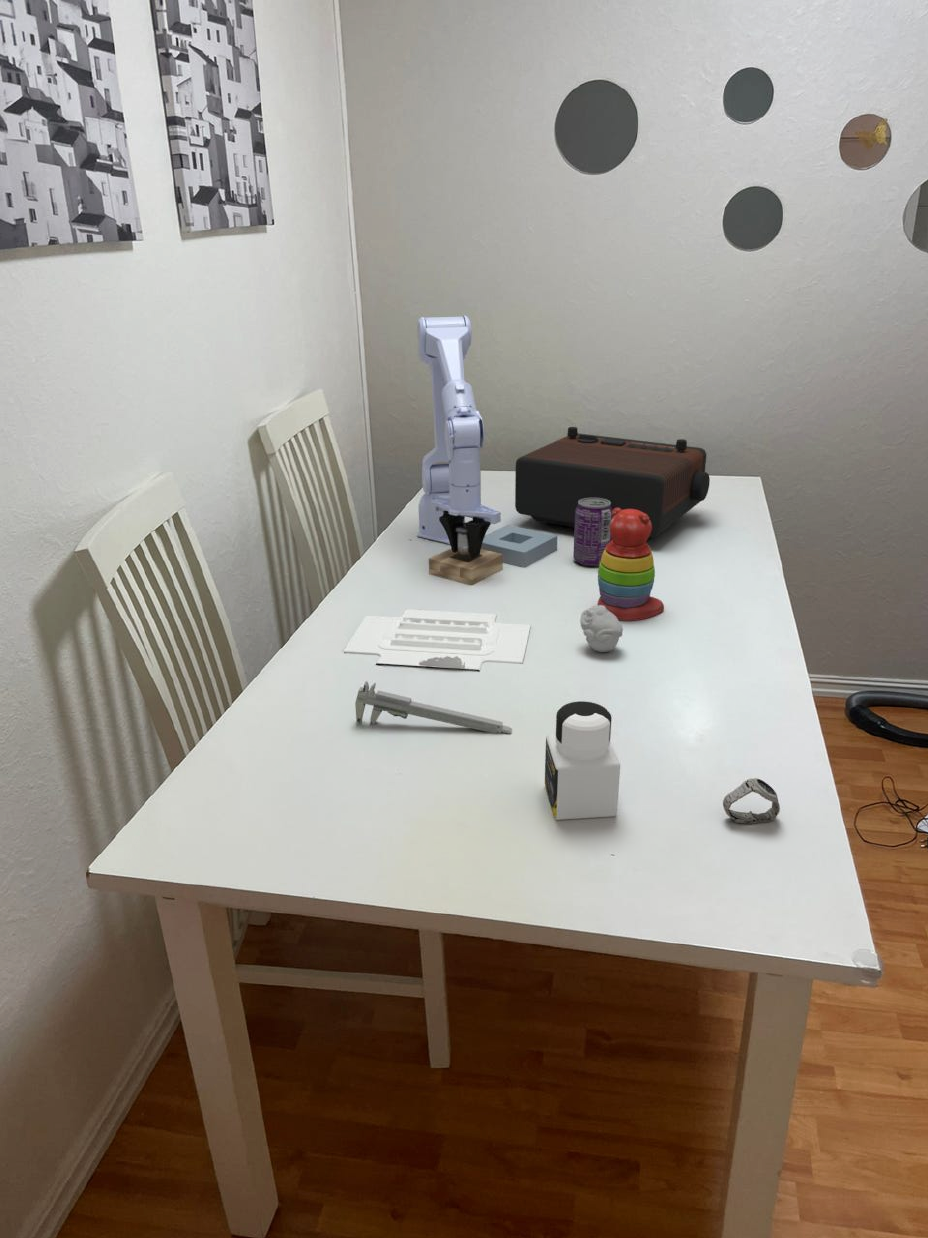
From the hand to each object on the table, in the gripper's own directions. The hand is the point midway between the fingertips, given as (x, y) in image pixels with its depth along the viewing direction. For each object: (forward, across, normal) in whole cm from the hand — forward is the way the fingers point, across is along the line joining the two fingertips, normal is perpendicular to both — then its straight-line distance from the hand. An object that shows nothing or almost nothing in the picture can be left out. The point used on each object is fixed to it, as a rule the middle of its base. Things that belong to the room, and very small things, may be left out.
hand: (465, 553), depth 169 cm
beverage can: (+4, +17, +18) cm, 25 cm away
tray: (+4, +14, -26) cm, 30 cm away
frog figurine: (+4, +37, -15) cm, 40 cm away
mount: (+4, 0, 0) cm, 4 cm away
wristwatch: (+4, +71, -43) cm, 83 cm away
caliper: (+4, +30, -48) cm, 57 cm away
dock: (+4, +2, +14) cm, 15 cm away
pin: (+3, 0, 0) cm, 3 cm away
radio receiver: (+4, +9, +42) cm, 43 cm away
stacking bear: (+4, +33, +1) cm, 33 cm away
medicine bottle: (+4, +54, -51) cm, 74 cm away
